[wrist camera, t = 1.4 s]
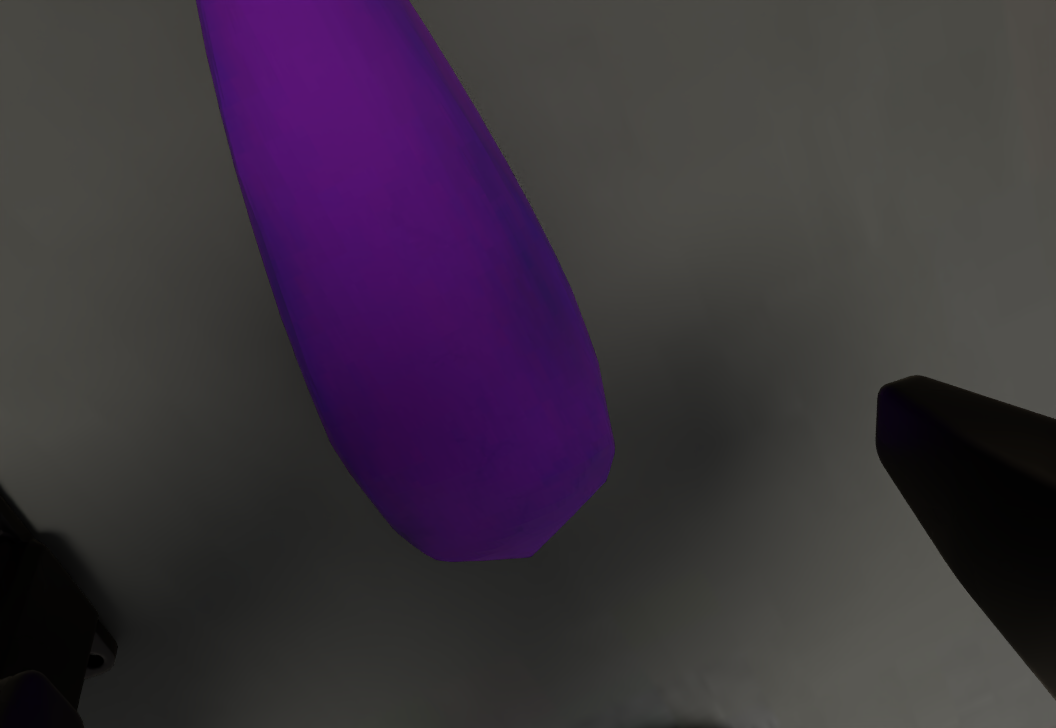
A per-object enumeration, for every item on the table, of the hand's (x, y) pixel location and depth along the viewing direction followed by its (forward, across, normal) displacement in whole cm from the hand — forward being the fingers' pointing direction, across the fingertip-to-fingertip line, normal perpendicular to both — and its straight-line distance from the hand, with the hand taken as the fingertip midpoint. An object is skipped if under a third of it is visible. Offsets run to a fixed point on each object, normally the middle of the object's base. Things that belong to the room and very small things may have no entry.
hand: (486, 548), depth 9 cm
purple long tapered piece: (+10, 0, 0) cm, 10 cm away
